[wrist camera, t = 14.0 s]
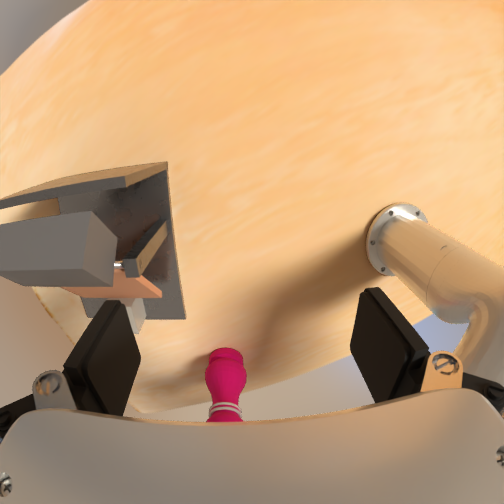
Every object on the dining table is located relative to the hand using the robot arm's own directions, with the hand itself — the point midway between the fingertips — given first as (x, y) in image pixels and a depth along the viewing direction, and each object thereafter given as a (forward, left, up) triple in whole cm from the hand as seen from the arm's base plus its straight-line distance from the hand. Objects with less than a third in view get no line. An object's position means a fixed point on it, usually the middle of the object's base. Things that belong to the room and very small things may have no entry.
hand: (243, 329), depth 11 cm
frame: (+19, +8, -30) cm, 37 cm away
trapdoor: (+19, +5, -21) cm, 29 cm away
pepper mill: (+4, +30, -31) cm, 43 cm away
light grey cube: (+19, +15, -27) cm, 36 cm away
